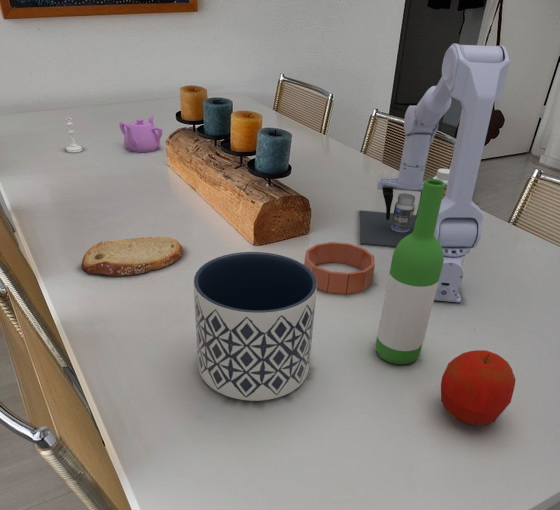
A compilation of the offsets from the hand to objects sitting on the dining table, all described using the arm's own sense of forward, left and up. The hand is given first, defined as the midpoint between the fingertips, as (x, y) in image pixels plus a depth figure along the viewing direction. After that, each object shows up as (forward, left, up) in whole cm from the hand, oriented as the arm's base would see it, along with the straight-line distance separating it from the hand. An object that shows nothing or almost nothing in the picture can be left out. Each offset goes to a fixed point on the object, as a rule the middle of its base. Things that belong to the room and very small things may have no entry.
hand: (402, 219), depth 134 cm
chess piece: (+41, +101, -3) cm, 109 cm away
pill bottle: (0, 0, -3) cm, 3 cm away
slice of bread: (-28, +59, -3) cm, 65 cm away
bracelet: (-27, +15, -3) cm, 31 cm away
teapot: (+49, +81, -3) cm, 95 cm away
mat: (0, 0, -3) cm, 3 cm away
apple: (-67, -6, -3) cm, 67 cm away
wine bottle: (-53, +4, -3) cm, 53 cm away
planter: (-61, +28, -3) cm, 67 cm away
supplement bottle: (+17, -11, -3) cm, 20 cm away
